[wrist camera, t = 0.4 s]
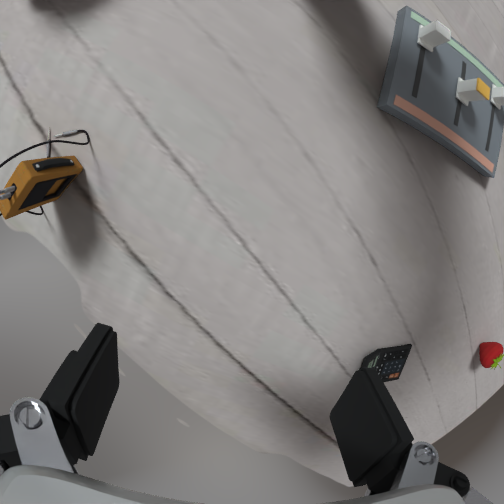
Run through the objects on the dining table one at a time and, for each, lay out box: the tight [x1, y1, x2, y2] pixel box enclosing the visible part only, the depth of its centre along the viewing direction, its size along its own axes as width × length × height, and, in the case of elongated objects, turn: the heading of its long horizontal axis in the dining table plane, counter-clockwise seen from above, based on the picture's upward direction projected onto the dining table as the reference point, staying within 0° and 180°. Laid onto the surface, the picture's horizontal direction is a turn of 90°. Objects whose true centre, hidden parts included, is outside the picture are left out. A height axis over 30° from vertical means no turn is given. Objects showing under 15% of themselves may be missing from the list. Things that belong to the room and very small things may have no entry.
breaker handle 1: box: [417, 20, 451, 52], centre depth 25 cm, size 4×3×5 cm
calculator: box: [362, 344, 412, 382], centre depth 49 cm, size 9×12×3 cm
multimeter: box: [0, 129, 89, 219], centre depth 25 cm, size 15×10×20 cm
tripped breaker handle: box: [456, 77, 490, 106], centre depth 27 cm, size 4×3×5 cm
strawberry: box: [479, 342, 504, 370], centre depth 47 cm, size 6×8×10 cm
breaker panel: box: [377, 6, 504, 178], centre depth 32 cm, size 20×26×3 cm
